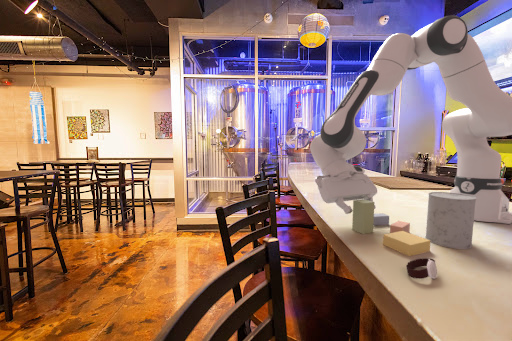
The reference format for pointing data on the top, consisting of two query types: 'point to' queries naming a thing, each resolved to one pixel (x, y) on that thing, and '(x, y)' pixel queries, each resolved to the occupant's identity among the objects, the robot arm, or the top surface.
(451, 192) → the robot arm
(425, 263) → the watch
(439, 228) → the speckled grey cylinder
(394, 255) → the top surface
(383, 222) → the slate brick
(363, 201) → the olive brick
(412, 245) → the ochre slab
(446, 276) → the top surface
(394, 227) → the terracotta brick
